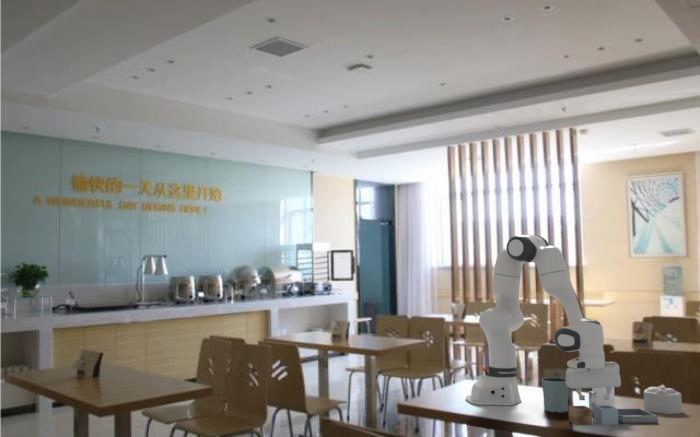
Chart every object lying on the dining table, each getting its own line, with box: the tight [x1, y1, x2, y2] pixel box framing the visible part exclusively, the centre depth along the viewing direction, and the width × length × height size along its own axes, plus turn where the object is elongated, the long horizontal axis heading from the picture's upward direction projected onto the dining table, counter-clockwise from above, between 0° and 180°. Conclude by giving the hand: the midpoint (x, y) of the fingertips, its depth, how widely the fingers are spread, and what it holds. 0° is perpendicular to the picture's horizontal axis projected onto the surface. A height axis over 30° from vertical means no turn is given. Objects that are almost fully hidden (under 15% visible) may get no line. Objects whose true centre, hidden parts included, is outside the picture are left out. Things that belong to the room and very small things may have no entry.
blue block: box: [593, 405, 619, 426], centre depth 226 cm, size 6×6×6 cm
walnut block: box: [568, 405, 593, 426], centre depth 225 cm, size 6×6×6 cm
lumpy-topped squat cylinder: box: [643, 385, 683, 415], centre depth 244 cm, size 10×13×9 cm
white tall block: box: [591, 387, 616, 408], centre depth 247 cm, size 8×8×12 cm
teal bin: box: [541, 376, 569, 414], centre depth 245 cm, size 10×10×12 cm
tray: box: [617, 407, 659, 425], centre depth 230 cm, size 13×12×2 cm
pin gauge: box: [588, 390, 597, 418], centre depth 235 cm, size 3×3×9 cm
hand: (594, 399), depth 234 cm, fingers open, 8 cm apart
